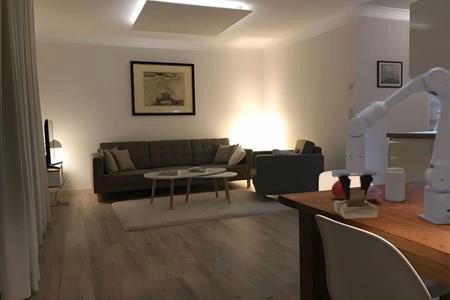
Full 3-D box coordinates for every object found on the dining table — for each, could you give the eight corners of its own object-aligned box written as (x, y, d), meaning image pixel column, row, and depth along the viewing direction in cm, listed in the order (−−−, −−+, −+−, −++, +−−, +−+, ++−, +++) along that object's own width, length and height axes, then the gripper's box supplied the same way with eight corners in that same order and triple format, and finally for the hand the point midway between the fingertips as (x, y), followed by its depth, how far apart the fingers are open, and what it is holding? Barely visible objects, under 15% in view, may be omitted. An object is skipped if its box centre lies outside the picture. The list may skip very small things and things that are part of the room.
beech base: (377, 217, 113) (377, 207, 113) (345, 218, 113) (345, 207, 113) (364, 209, 123) (364, 200, 123) (334, 210, 123) (334, 200, 123)
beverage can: (406, 202, 133) (407, 169, 132) (387, 202, 134) (387, 169, 133) (401, 199, 139) (402, 167, 138) (383, 198, 140) (383, 167, 139)
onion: (330, 200, 139) (330, 179, 138) (333, 197, 144) (333, 177, 143) (346, 201, 136) (346, 180, 135) (349, 198, 141) (349, 177, 140)
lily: (380, 210, 127) (392, 185, 128) (347, 194, 131) (359, 170, 132) (377, 212, 138) (387, 189, 139) (346, 198, 143) (357, 176, 143)
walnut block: (364, 206, 116) (364, 190, 116) (350, 206, 116) (350, 190, 116) (359, 203, 121) (359, 187, 120) (345, 203, 120) (345, 188, 120)
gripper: (372, 154, 121) (372, 195, 122) (328, 155, 121) (328, 196, 122) (382, 156, 114) (382, 200, 115) (335, 157, 113) (335, 201, 115)
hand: (355, 198), depth 118 cm, fingers closed on walnut block, 4 cm apart
